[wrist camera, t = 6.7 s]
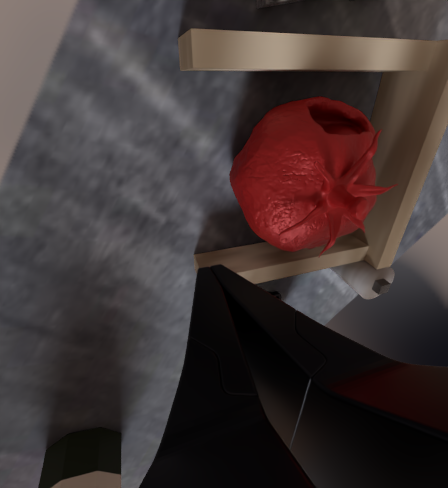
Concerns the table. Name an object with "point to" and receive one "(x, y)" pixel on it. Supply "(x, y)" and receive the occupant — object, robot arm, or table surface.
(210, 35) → the frame
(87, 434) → the wine bottle
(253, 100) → the table surface
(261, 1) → the crank handle
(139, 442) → the table surface
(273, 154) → the pomegranate
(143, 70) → the table surface
